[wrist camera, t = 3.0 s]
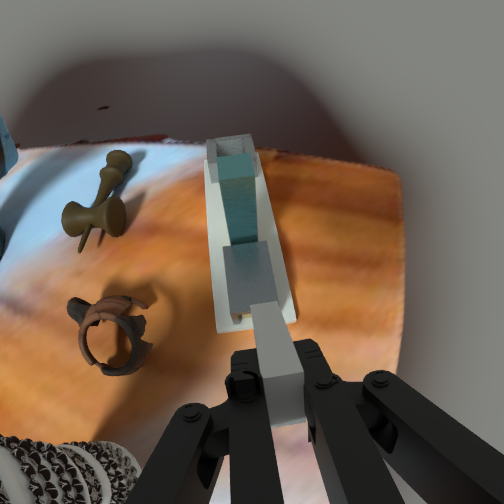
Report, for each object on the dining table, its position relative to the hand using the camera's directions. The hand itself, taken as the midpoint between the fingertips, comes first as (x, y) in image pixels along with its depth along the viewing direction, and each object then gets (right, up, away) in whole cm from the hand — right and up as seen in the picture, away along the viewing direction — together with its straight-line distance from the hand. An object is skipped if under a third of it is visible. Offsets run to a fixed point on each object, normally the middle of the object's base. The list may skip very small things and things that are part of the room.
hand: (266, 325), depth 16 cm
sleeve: (-1, -1, +19) cm, 19 cm away
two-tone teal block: (-1, +3, +20) cm, 20 cm away
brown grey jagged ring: (-17, -6, +17) cm, 25 cm away
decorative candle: (-17, -22, +8) cm, 29 cm away
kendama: (-24, +11, +28) cm, 39 cm away
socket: (-4, +17, +30) cm, 35 cm away
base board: (-2, +7, +24) cm, 25 cm away
